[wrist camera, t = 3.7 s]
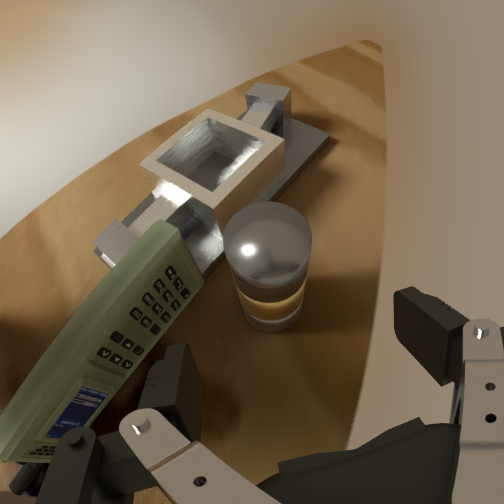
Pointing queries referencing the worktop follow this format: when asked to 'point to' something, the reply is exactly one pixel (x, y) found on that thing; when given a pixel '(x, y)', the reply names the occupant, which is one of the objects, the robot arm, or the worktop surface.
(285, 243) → the grey cylinder with band
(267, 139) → the base
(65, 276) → the worktop surface
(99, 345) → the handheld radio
